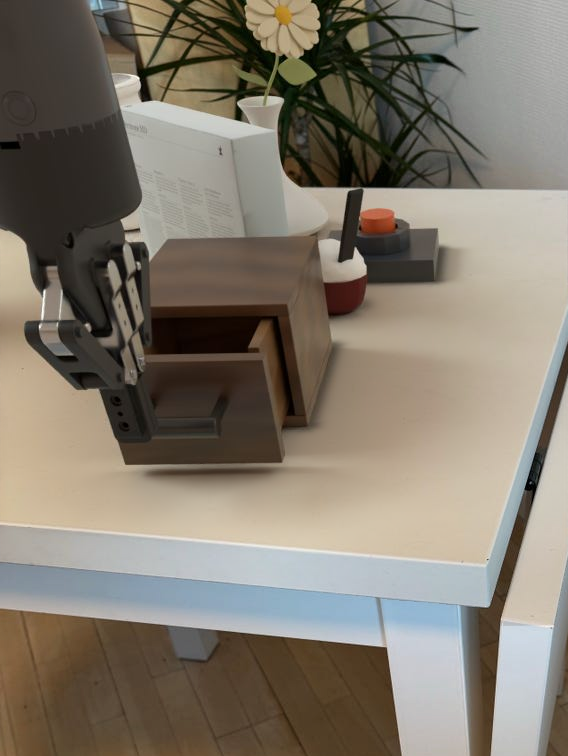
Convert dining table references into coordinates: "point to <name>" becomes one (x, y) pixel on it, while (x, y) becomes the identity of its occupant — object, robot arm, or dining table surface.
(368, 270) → the console
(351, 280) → the cocoa
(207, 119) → the skincare box
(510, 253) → the dining table surface
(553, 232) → the dining table surface
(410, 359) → the dining table surface
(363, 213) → the button
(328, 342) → the cabinet
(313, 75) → the flower in vase
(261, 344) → the drawer
